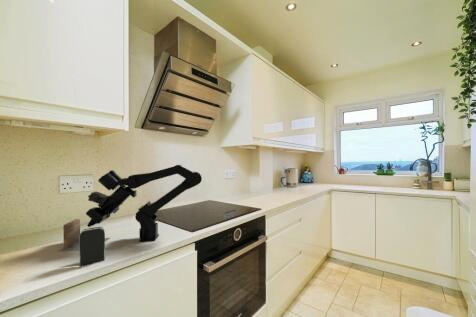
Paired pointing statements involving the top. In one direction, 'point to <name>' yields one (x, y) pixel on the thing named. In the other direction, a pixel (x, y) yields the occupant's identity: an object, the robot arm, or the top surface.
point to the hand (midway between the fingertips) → (88, 226)
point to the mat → (75, 247)
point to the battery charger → (92, 246)
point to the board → (71, 233)
